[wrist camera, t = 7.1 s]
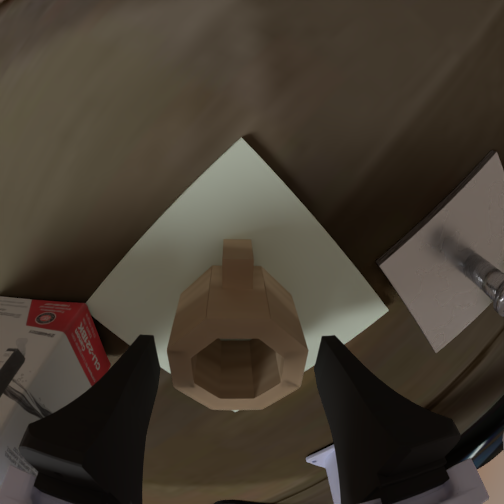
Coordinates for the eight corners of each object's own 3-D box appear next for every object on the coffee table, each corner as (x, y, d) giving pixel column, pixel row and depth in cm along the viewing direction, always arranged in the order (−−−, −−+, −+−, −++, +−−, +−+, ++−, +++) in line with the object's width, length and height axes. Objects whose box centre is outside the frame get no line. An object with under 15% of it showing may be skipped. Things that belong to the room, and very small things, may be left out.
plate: (521, 261, 16) (558, 289, 12) (433, 348, 18) (461, 391, 14) (491, 150, 12) (547, 168, 8) (375, 261, 15) (416, 310, 11)
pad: (385, 305, 16) (388, 310, 16) (235, 406, 19) (235, 412, 19) (241, 137, 12) (241, 137, 12) (85, 302, 15) (82, 307, 14)
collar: (283, 351, 16) (295, 407, 13) (186, 351, 16) (178, 408, 12) (297, 240, 14) (320, 286, 10) (176, 238, 13) (156, 285, 10)
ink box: (87, 298, 14) (-27, 488, 3) (113, 365, 16) (48, 534, 5) (-6, 292, 14) (-105, 409, 4) (21, 349, 16) (-52, 467, 6)
